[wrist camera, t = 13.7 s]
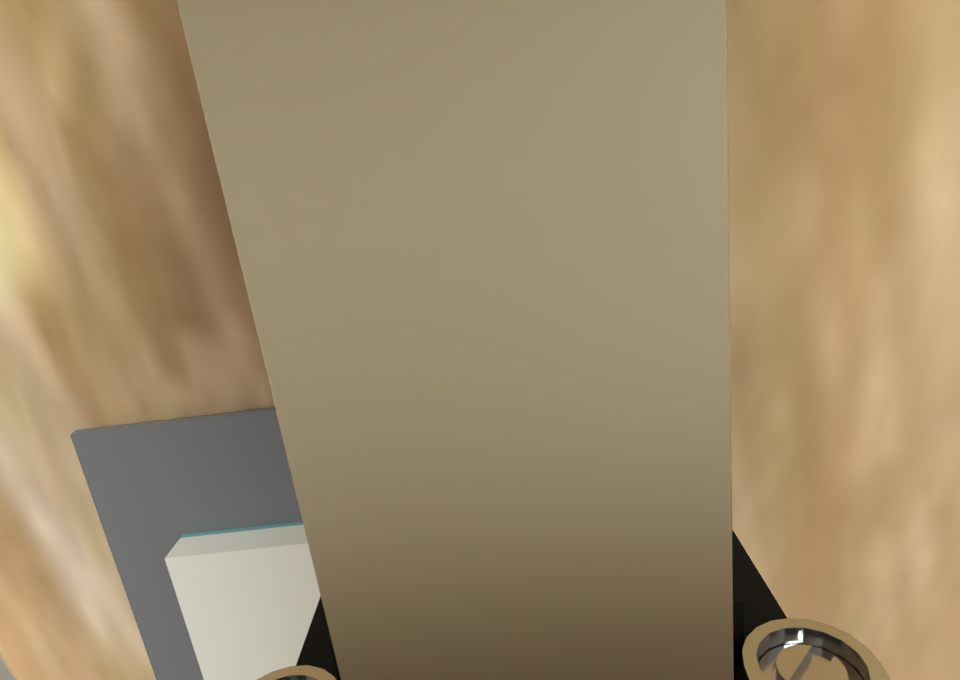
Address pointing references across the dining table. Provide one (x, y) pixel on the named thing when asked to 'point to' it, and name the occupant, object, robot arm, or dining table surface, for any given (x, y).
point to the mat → (181, 506)
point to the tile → (245, 597)
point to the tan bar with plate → (491, 321)
